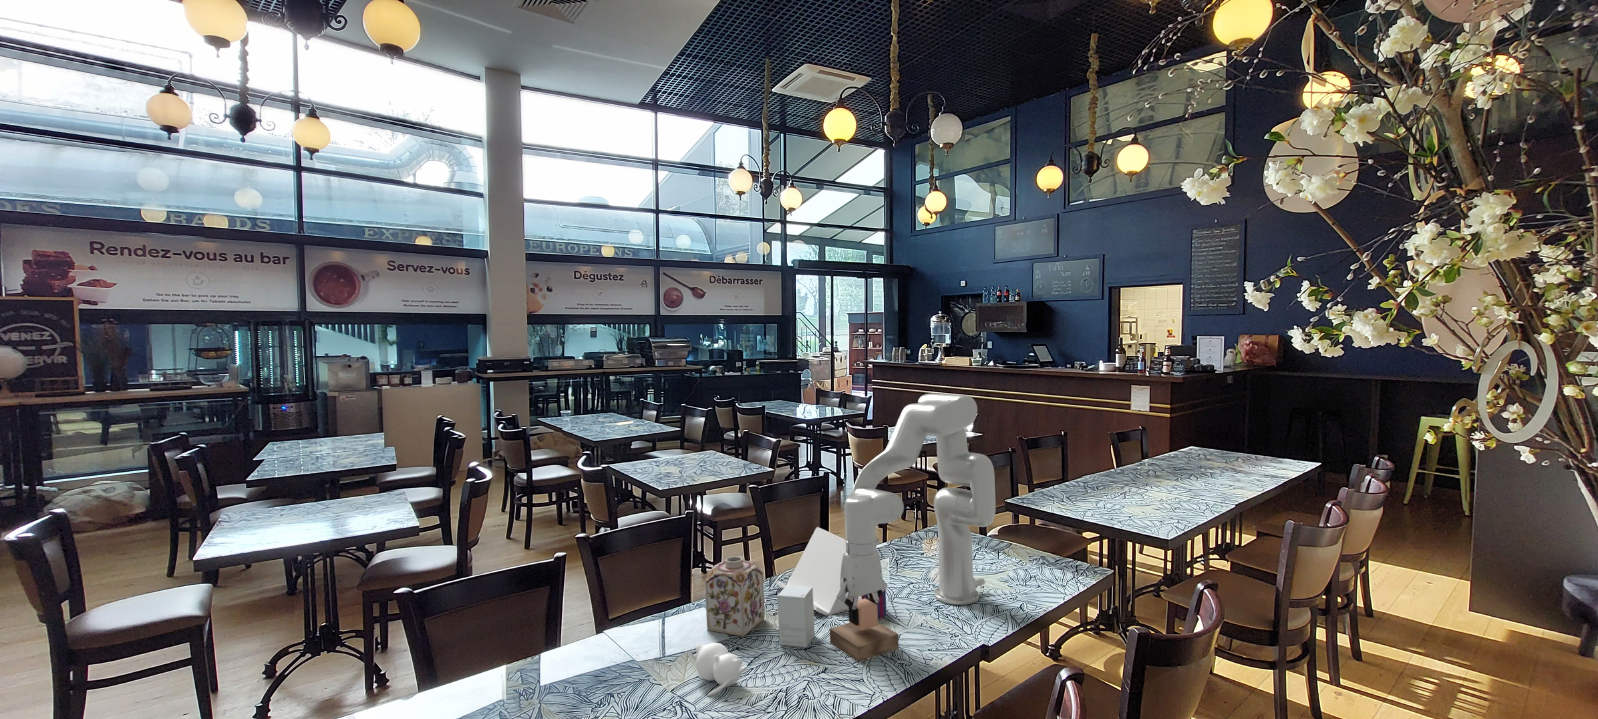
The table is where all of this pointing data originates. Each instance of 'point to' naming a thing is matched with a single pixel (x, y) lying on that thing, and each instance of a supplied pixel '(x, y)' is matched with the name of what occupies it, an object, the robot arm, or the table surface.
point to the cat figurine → (718, 665)
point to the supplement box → (796, 616)
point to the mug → (879, 604)
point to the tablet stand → (821, 571)
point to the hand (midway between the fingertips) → (863, 619)
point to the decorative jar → (734, 597)
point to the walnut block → (864, 640)
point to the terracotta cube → (866, 614)
